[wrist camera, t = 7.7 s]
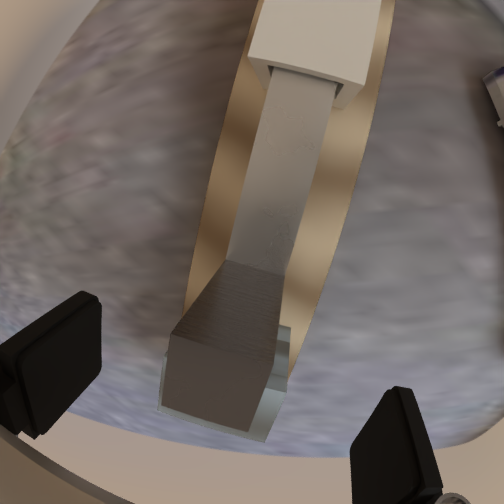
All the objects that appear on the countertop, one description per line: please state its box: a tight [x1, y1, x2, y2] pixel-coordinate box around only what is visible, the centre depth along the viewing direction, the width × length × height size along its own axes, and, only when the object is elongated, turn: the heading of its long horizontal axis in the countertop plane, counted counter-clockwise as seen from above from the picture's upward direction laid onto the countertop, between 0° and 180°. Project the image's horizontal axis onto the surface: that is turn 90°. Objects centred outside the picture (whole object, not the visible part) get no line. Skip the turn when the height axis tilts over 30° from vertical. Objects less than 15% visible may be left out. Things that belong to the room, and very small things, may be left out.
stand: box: [157, 0, 395, 442], centre depth 16 cm, size 33×9×8 cm, turn 166°
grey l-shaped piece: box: [161, 66, 338, 432], centre depth 13 cm, size 21×3×10 cm, turn 166°
